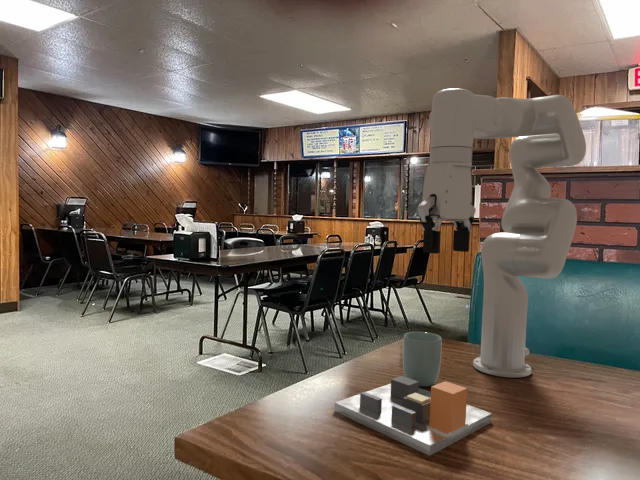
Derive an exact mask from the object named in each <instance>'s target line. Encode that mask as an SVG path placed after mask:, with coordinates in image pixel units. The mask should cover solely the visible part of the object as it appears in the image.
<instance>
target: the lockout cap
mask: <svg viewBox="0 0 640 480" xmlns="http://www.w3.org/2000/svg"><path fill="white" fill-rule="evenodd" d="M430 392H431V401H430V424H432V425H434V426H437V427H439V428H442V429H444V430H447V431H449V432H453V431H455V430H457V429H459V428H461V427H463V426H465V425H466V404H467V400H468V387H464V386H462V385H458V384H455V383H452V382H449V381H442V382H440V383H437V384H433V385H431V386H430ZM467 405H468V404H467Z"/></svg>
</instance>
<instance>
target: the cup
mask: <svg viewBox="0 0 640 480" xmlns="http://www.w3.org/2000/svg"><path fill="white" fill-rule="evenodd" d="M442 343H443V341H442V336H440V335H438V334H436V333H432V332H426V331H425V332H424V331H410V332H409V331H408V332H406V333H404V335H403V342H402V367H403V368H402V369H403V375H404V377H406V378H409V379H412V380H415V381H418V382H419V388H421V387H422V388H423V387H424V388H425V387H426V388H427V387H431V386H434V385H435V383H436V382H437V381H438V379H439V376H440V370H441V363H442V362H441V361H442V346H443V345H442Z"/></svg>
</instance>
